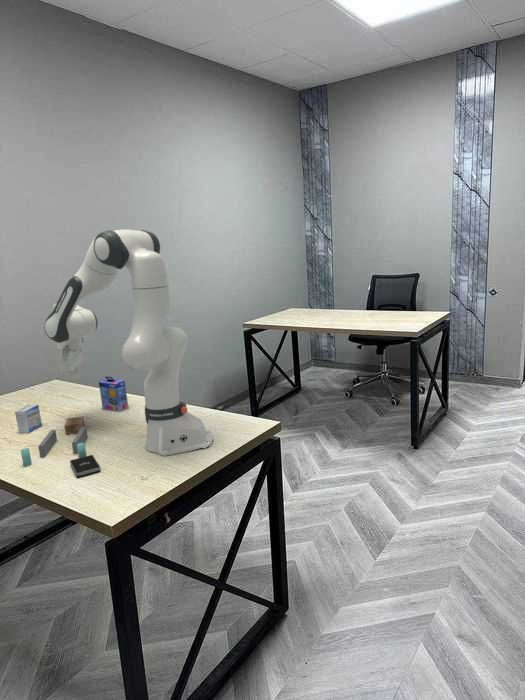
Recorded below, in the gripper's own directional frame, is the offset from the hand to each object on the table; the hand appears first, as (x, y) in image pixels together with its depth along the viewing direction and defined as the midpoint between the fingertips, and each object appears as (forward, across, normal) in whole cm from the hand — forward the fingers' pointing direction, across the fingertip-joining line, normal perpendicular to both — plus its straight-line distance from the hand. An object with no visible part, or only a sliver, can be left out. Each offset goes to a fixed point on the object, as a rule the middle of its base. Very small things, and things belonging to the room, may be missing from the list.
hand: (74, 378), depth 184 cm
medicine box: (+18, -3, +18) cm, 26 cm away
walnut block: (+18, -9, 0) cm, 20 cm away
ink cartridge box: (+18, +12, -11) cm, 24 cm away
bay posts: (+18, -36, 0) cm, 40 cm away
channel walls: (+18, -24, 0) cm, 30 cm away
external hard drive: (+18, -43, -11) cm, 48 cm away
